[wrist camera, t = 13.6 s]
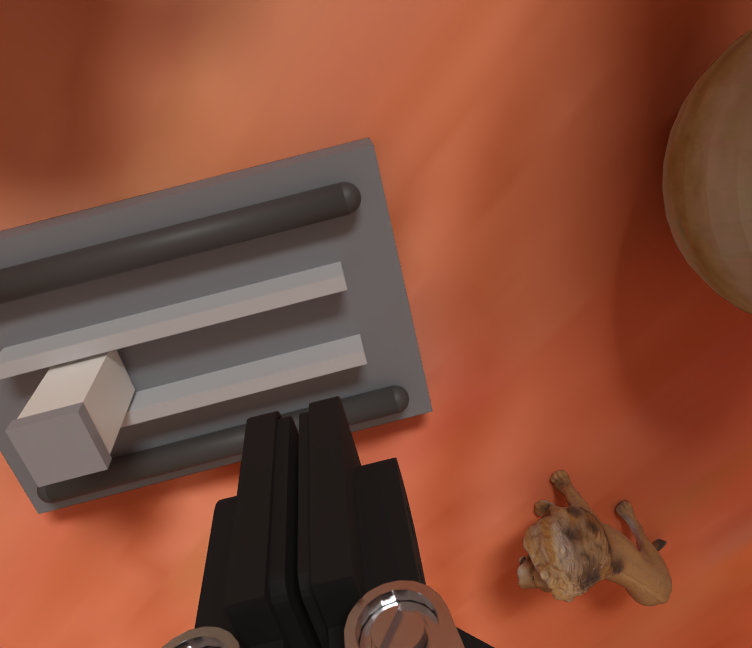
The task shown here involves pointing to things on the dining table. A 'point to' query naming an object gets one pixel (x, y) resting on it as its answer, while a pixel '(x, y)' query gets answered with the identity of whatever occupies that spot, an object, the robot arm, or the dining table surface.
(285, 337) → the breaker panel
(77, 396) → the knob
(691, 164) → the decorative ball
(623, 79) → the dining table surface
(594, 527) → the lion figurine
